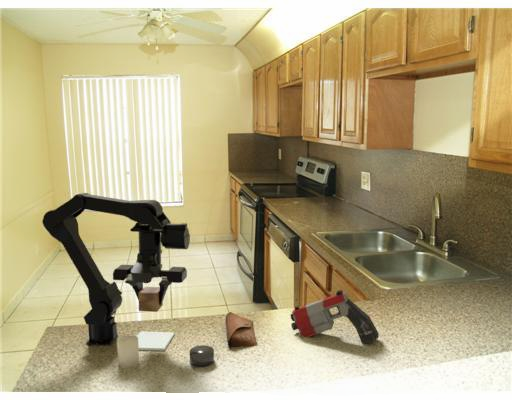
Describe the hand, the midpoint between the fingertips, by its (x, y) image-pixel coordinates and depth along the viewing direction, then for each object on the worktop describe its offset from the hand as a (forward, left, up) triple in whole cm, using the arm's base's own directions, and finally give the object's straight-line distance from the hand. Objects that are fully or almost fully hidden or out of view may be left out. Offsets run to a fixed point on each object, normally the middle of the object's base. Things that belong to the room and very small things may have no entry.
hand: (150, 304), depth 121 cm
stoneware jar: (-2, -12, -11) cm, 16 cm away
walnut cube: (0, 0, -1) cm, 1 cm away
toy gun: (+50, +7, -11) cm, 51 cm away
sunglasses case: (+24, +7, -12) cm, 27 cm away
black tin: (+16, -10, -11) cm, 22 cm away
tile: (0, 0, -11) cm, 11 cm away
